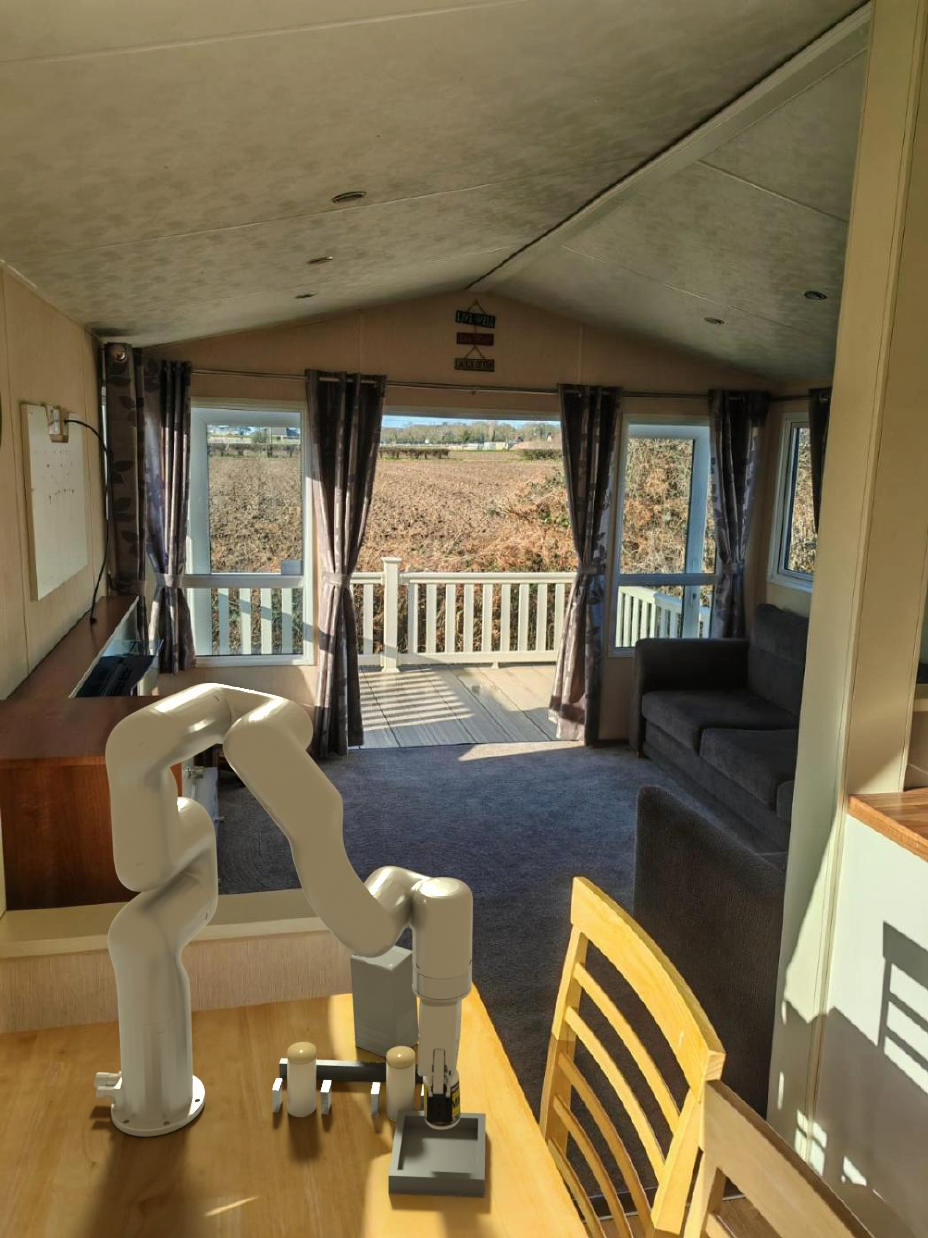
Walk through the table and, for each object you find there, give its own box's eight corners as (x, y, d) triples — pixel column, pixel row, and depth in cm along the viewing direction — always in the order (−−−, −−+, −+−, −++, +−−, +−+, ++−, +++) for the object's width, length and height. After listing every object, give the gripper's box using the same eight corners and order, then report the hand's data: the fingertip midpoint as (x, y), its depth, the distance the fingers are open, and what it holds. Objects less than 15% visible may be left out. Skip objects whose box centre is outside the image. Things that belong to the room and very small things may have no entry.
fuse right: (384, 1121, 131) (384, 1063, 129) (387, 1101, 135) (388, 1045, 133) (413, 1122, 131) (414, 1064, 129) (415, 1102, 135) (416, 1046, 133)
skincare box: (419, 1043, 148) (420, 949, 146) (392, 1067, 143) (393, 970, 140) (377, 1025, 153) (377, 934, 150) (348, 1047, 147) (348, 953, 144)
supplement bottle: (456, 1133, 120) (454, 1073, 118) (420, 1129, 121) (417, 1070, 119) (464, 1107, 125) (462, 1050, 123) (429, 1104, 126) (426, 1046, 124)
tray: (388, 1193, 118) (388, 1175, 118) (398, 1126, 130) (398, 1110, 129) (484, 1197, 118) (484, 1179, 117) (485, 1130, 130) (485, 1113, 129)
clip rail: (267, 1112, 132) (267, 1089, 132) (281, 1073, 140) (281, 1052, 140) (431, 1118, 132) (432, 1096, 131) (435, 1079, 140) (435, 1058, 139)
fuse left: (284, 1116, 131) (284, 1059, 130) (290, 1097, 135) (290, 1041, 134) (313, 1117, 131) (313, 1060, 130) (318, 1098, 135) (318, 1042, 134)
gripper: (417, 942, 128) (417, 1064, 131) (406, 1015, 111) (405, 1153, 114) (473, 944, 128) (471, 1066, 131) (469, 1017, 111) (467, 1155, 114)
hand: (440, 1105), depth 122 cm, fingers closed on supplement bottle, 4 cm apart
